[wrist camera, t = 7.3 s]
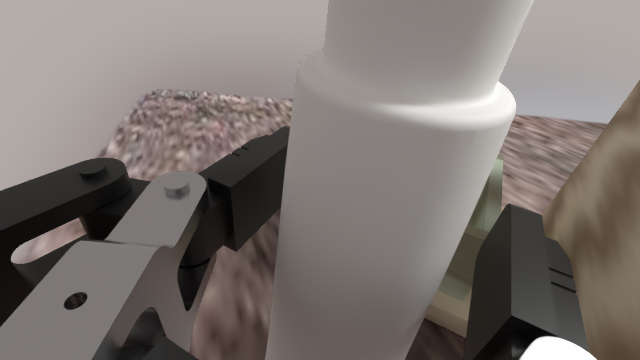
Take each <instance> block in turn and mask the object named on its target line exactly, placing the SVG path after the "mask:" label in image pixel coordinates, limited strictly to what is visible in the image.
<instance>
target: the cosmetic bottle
mask: <svg viewBox="0 0 640 360" xmlns="http://www.w3.org/2000/svg"><path fill="white" fill-rule="evenodd" d="M533 1H534V0H329V6H328V15H327V25H326V34H325V44H324V49H321V50H318V51H315V52H313V53H311V54H309V55H307V56H306V57H305V58H304V59H303V60H302V61H301V62H300V65H299V67H298V70H297V75H296V83H295V91H294V99H293V107H292V115H291V124H290V132H289V140H288V149H287V157H286V165H285V174H284V184H283V194H282V203H281V213H280V222H279V232H278V243H277V254H276V264H275V275H274V286H273V296H272V307H271V316H270V325H269V334H268V342H267V349H266V355H265V360H405V358H406V356H407V354H408V351H409V349H410V347H411V345H412V343H413V341H414V339H415V337H416V334H417V332H418V330H419V328H420V326H421V324H422V322H423V320H424V317H425V315H426V313H427V311H428V309H429V307H430V305H431V303H432V300H433V298H434V296H435V294H436V292H437V290H438V288H439V286H440V283H441V281H442V279H443V277H444V275H445V273H446V271H447V268H448V266H449V264H450V262H451V260H452V257H453V255H454V253H455V251H456V249H457V246H458V244H459V242H460V240H461V238H462V235H463V233H464V231H465V229H466V227H467V224H468V222H469V220H470V218H471V216H472V213H473V211H474V209H475V206H476V204H477V202H478V200H479V197H480V195H481V193H482V190H483V188H484V186H485V183H486V181H487V179H488V177H489V174H490V172H491V170H492V167H493V165H494V163H495V160H496V158H497V156H498V154H499V151H500V149H501V147H502V144H503V142H504V140H505V137H506V135H507V133H508V130H509V128H510V126H511V123H512V121H513V119H514V116H515V112H516V102H515V99H514V97H513V95H512V94H511V93H510V91H509V90H508V89H507V88H506V87H505V86H504V85H502V84H501V83H500V82H498V79H499V77H500V75H501V73H502V70H503V68H504V66H505V64H506V62H507V59H508V57H509V55H510V53H511V50H512V48H513V46H514V43H515V41H516V39H517V37H518V35H519V32H520V30H521V28H522V26H523V24H524V21H525V19H526V17H527V15H528V12H529V10H530V8H531V6H532V3H533Z"/></svg>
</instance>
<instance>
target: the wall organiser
mask: <svg viewBox="0 0 640 360" xmlns="http://www.w3.org/2000/svg"><path fill="white" fill-rule="evenodd" d="M502 176H503V156H502V155H499V154H498V156H497V158H496V160H495V163H494V165H493V167H492V170H491V172H490V174H489V177H488V179H487V181H486V183H485V186H484V188H483V190H482V193H481V195H480V197H479V200H478V202H477V204H476V206H475V209H474V211H473V213H472V216H471V218H470V220H469V222H468V224H467V227H466V229H465V231H464V233H463V235H462V238H461V240H460V242H459V244H458V246H457V249H456V251H455V253H454V255H453V257H452V260H451V262H450V264H449V266H448V268H447V271H446V273H445V275H444V277H443V279H442V281H441V283H440V286H439V288H438V290H437V292H436V294H435V296H434V298H433V300H432V303H431V305H430V307H429V309H428V311H427V313H426V315H425V317H424V318H426V319H428V320H430V321H432V322H434V323H436V324H438V325H440V326H442V327H444V328H446V329H448V330H450V331H452V332H454V333H456V334H458V335H460V336H462V337H464V338H466V333H467V325H468V317H469V309H470V301H471V293H472V285H473V277H474V269H475V262H476V258H477V255H478V252H479V250H480V247H481V245H482V243H483V242H484V240H485V238H486V237H487V235H488V234H489V232H490V230H491V229H492V227H493V225H494V224H495V222H496V221H497V219H498V217H499V216H500V214H501V212H502V211H503V209H504V208H505V207H504V206H501V200H502ZM542 218H543V226H544V234H545V237H547V238H550V239H553V240H556V241H558V243H559V244H560V246H561V247H562V248H563V250H564V251H565V253H566V254H567V256H568V257H569V258H570V261H571V266H572V271H573V276H574V277H573V280H574V281H575V285H576V290H577V292H576V295H578V300H579V305H580V309H581V314H582V319H583V324H584V329H585V334H586V338H587V343H588V348H589V353H590V355H592V356H593V357H594V358H595V359H596V360H640V81H639V82H638V83H637V85H636V86H635V88H634V89H633V90H632V92H631V93H630V95H629V96H628V97H627V99H626V100H625V101H624V103H623V104H622V106H621V107H620V108H619V110H618V111H617V112H616V114H615V115H614V117H613V118H612V119H611V121H610V122H609V123H608V125H607V126H606V128H605V129H604V130H603V132H602V133H601V135H600V136H599V137H598V139H597V140H596V141H595V143H594V144H593V146H592V147H591V148H590V150H589V151H588V152H587V154H586V155H585V157H584V158H583V159H582V161H581V162H580V164H579V165H578V166H577V168H576V169H575V170H574V172H573V173H572V175H571V176H570V177H569V179H568V180H567V181H566V183H565V184H564V186H563V187H562V188H561V190H560V191H559V193H558V194H557V195H556V197H555V198H554V199H553V201H552V202H551V204H550V205H549V206H548V208H547V209H546V210H545V212H544V213H543V215H542Z"/></svg>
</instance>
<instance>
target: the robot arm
mask: <svg viewBox="0 0 640 360" xmlns="http://www.w3.org/2000/svg"><path fill="white" fill-rule="evenodd" d="M289 132H290V127H288V126H284V127H282V128H281V129H279V130H278V131H276V132H275V133H273V134H272V135H270V136H269V135H265V136H262V137H258V138H255V139H252V140H250V141H249V142H247V143H246V144H244V145H243V146H241V148H238V149H236V150H235V151H233V152H232V154H228V155H227V156H225V157H224V158H222V159H221V160H219V161H217V162H216V163H214V164H213V165H211V166H210V167H208V168H206V169H205V170H203V171H202V172H200V173H199V174H196V173H193V172H188V171H177V172H171V173H167V174H164V175H162V176H159V177H157V178H156V179H154V180H153V181H152V182H150V181H144V180H138V179H132V178H129V176H128V173H127V170H126V167H125V165H124V163H123V162H121V161H120V160H117V159H113V158H96V159H90V160H86V161H83V162H80V163H77V164H74V165H71V166H68V167H66V168H63V169H60V170H57V171H54V172H52V173H49V174H46V175H43V176H41V177H38V178H35V179H32V180H29V181H27V182H24V183H21V184H19V185H15V186H13V187H10V188H7V189H4V190H2V191H0V360H198V359H197V358H195V357H194V356H193V355H191V354H190V353H189V351H190V347H191V342H192V330H193V323H194V319H195V316H196V313H197V311H198V308H199V305H200V302H201V300H202V297H203V294H204V292H205V289H206V286H207V284H208V281H209V278H210V276H211V273H212V270H213V268H214V265H215V262H216V259H217V254H216V251H217V250H219V249H220V248H221V247H222V246H223V245H224V246H226V247H228V248H230V249H232V250H234V251H235V252H237V251H238V250H239V249H240V248H241V247H242V245H243V244H244V243H245V242H246V241H247V240H248V239H249V238H250V237H251V236H252V235H253V234H254V233H255V232H256V231H257V230H258V229H259V228H260V227H261V226H262V225H263V224H264V223H265V222H266V221H267V220H268V219H269V218H270V217H271V216H272V215H273V214H274V213H275V212H276V211H277V210H278V209H279V208H280V207H281V203H282V194H283V184H284V174H285V165H286V157H287V149H288V140H289ZM76 218H79V220H80V222H81V224H82V226H83V228H84V230H85V232H86V235H84V236H82V237H80V238H78V239H76V240H74V241H72V242H70V243H68V244H66V245H64V246H62V247H60V248H58V249H56V250H54V251H52V252H50V253H48V254H46V255H44V256H42V257H40V258H38V259H36V260H34V261H32V262H30V263H26V264H15V263H13V262H11V256H12V253H13V252H14V250H15V249H16V248H17V247H19V246H20V245H21V244H23V243H25V242H27V241H29V240H31V239H33V238H36V237H38V236H40V235H42V234H44V233H46V232H48V231H51V230H53V229H55V228H57V227H59V226H61V225H63V224H65V223H68V222H70V221H72V220H74V219H76ZM573 277H574V276H573V271H572V266H571V261H570V258H569V257H568V256H567V254H566V253H565V251H564V250H563V248H562V247H561V246H560V244H559V243H558V241H556V240H553V239H550V238H547V237H545V234H544V226H543V218H542V215H541V214H538V213H535V212H533V211H530V210H527V209H524V208H521V207H518V206H515V205H512V204H508V205H506V207H505V208H504V209H503V211H502V212H501V214H500V216H499V217H498V219H497V221H496V222H495V224H494V225H493V227H492V229H491V230H490V232H489V234H488V235H487V237H486V238H485V240H484V242H483V243H482V245H481V247H480V250H479V252H478V255H477V258H476V262H475V269H474V277H473V285H472V293H471V301H470V309H469V317H468V325H467V333H466V341H465V349H464V357H463V360H596V359H595V358H594V357H593V356H592V355H590V353H589V348H588V343H587V338H586V334H585V329H584V324H583V319H582V314H581V309H580V305H579V300H578V295H576V292H577V290H576V285H575V281H574V280H573Z"/></svg>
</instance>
